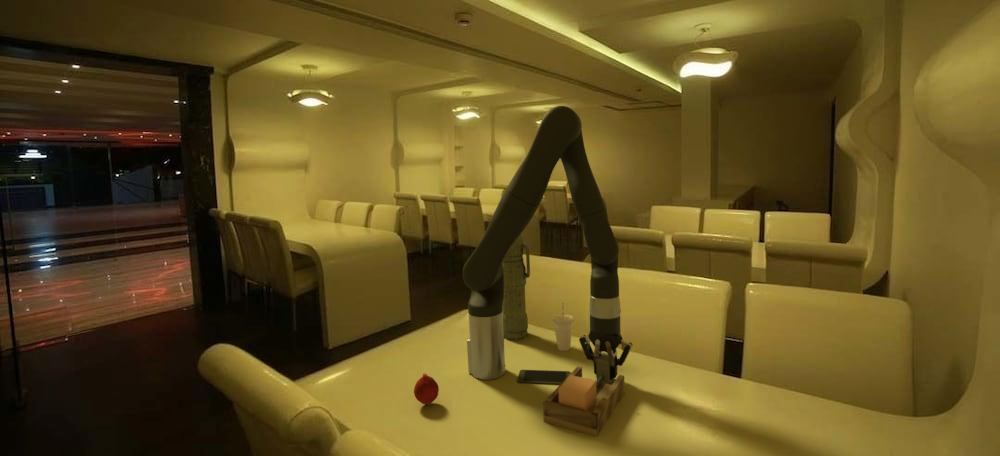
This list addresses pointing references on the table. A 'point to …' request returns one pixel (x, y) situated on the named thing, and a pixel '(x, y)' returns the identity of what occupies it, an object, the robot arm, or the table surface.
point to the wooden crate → (582, 418)
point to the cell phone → (542, 377)
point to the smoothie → (563, 330)
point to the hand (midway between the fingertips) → (605, 377)
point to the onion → (426, 389)
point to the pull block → (585, 387)
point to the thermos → (515, 291)
